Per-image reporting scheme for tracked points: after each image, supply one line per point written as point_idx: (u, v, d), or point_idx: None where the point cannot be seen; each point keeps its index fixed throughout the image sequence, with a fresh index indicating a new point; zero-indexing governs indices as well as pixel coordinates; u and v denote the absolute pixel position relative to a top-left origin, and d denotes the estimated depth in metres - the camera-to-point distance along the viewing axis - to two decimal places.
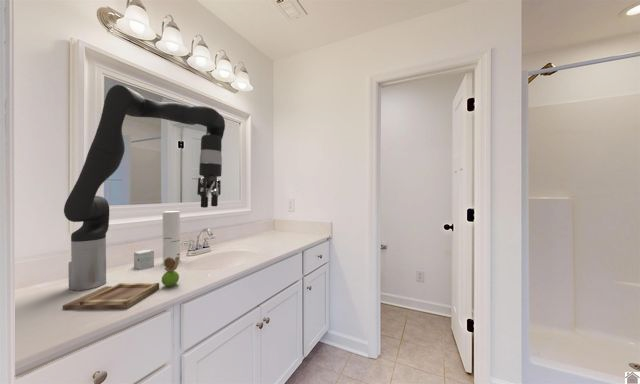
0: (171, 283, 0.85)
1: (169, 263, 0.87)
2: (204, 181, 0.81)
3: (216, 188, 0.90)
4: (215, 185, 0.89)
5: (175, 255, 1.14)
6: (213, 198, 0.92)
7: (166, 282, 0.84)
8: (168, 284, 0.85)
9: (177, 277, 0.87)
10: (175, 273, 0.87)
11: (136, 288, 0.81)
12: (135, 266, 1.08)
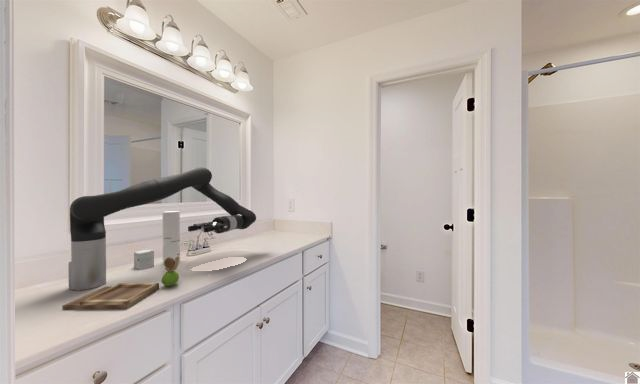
0: (171, 283, 0.85)
1: (169, 263, 0.87)
2: (225, 229, 1.03)
3: None
4: None
5: (175, 255, 1.14)
6: (195, 227, 1.01)
7: (166, 282, 0.84)
8: (168, 284, 0.85)
9: (177, 277, 0.87)
10: (175, 273, 0.87)
11: (136, 288, 0.81)
12: (135, 266, 1.08)
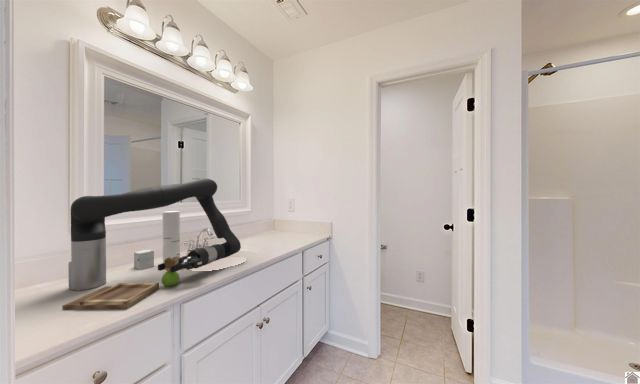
0: (171, 283, 0.85)
1: (169, 263, 0.87)
2: (199, 266, 0.90)
3: None
4: None
5: (175, 255, 1.14)
6: None
7: (165, 282, 0.84)
8: (168, 284, 0.85)
9: (177, 277, 0.87)
10: (175, 273, 0.87)
11: (136, 288, 0.81)
12: (135, 266, 1.08)
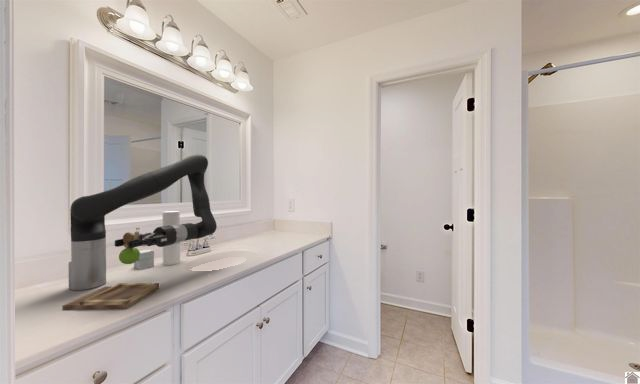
0: (129, 260, 0.76)
1: (128, 239, 0.78)
2: (163, 243, 0.82)
3: None
4: None
5: (175, 255, 1.14)
6: None
7: (123, 260, 0.76)
8: (126, 261, 0.76)
9: (137, 254, 0.78)
10: (135, 250, 0.78)
11: (136, 288, 0.81)
12: (135, 266, 1.08)
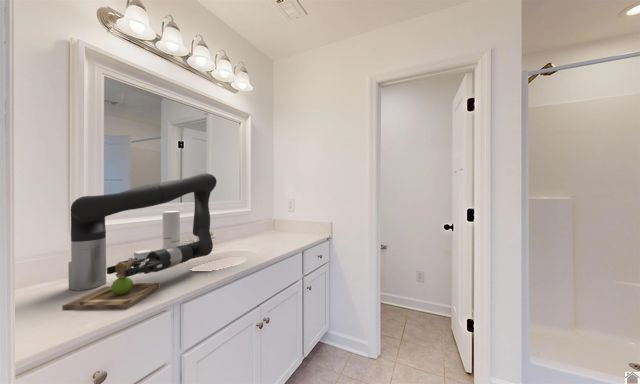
0: (122, 291, 0.75)
1: (120, 269, 0.77)
2: (159, 269, 0.81)
3: None
4: None
5: None
6: None
7: (115, 291, 0.74)
8: (118, 293, 0.75)
9: (130, 284, 0.77)
10: (127, 280, 0.77)
11: (136, 288, 0.81)
12: None
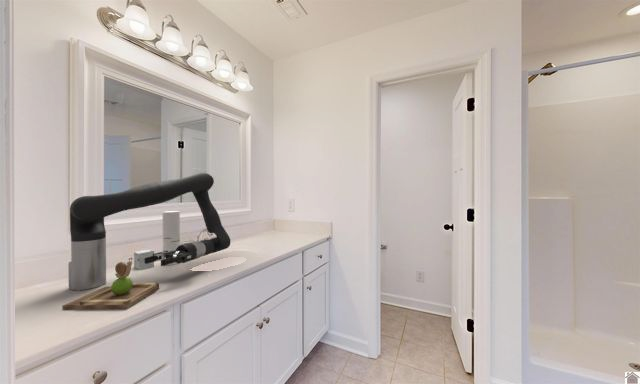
0: (122, 291, 0.75)
1: (120, 269, 0.77)
2: (188, 259, 0.92)
3: None
4: None
5: None
6: (154, 258, 0.90)
7: (115, 291, 0.74)
8: (118, 293, 0.75)
9: (130, 284, 0.77)
10: (127, 280, 0.77)
11: (136, 288, 0.81)
12: (135, 266, 1.08)
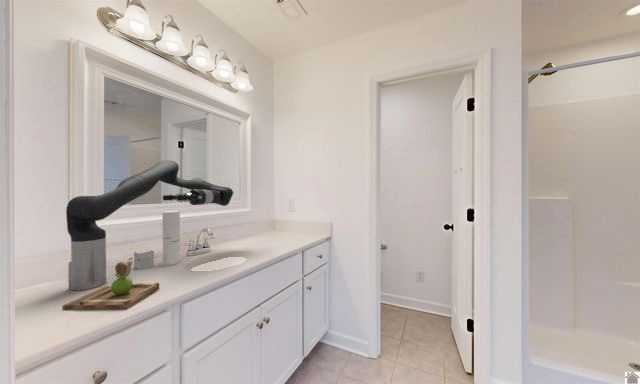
0: (122, 291, 0.75)
1: (120, 269, 0.77)
2: (199, 199, 1.08)
3: (181, 200, 1.09)
4: (184, 200, 1.10)
5: (175, 255, 1.14)
6: (170, 197, 1.06)
7: (115, 291, 0.74)
8: (118, 293, 0.75)
9: (130, 284, 0.77)
10: (127, 280, 0.77)
11: (136, 288, 0.81)
12: (135, 266, 1.08)
